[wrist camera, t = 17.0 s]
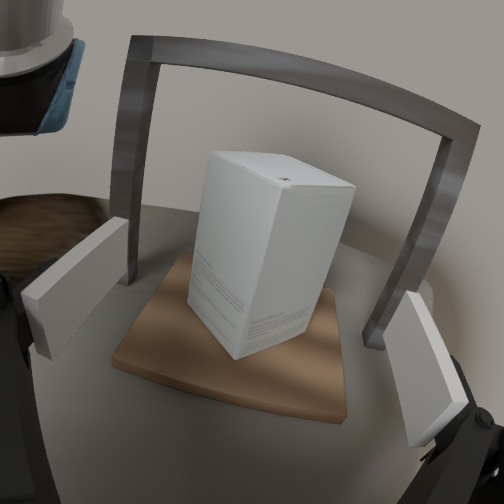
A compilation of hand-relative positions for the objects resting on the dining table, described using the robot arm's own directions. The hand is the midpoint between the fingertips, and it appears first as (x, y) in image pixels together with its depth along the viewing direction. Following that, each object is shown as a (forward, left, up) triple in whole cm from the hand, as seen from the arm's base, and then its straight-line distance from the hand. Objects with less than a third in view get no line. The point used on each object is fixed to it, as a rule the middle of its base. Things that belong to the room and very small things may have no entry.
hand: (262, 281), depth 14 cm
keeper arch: (-8, +4, -10) cm, 13 cm away
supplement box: (-8, +4, -9) cm, 13 cm away
